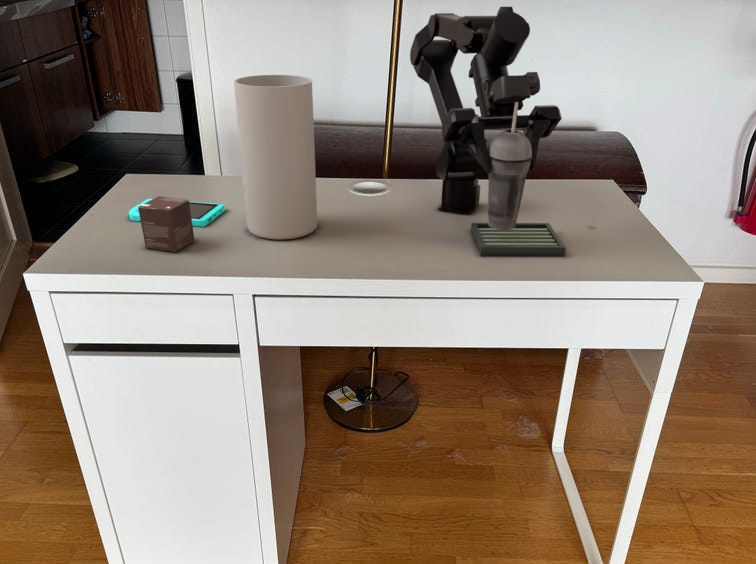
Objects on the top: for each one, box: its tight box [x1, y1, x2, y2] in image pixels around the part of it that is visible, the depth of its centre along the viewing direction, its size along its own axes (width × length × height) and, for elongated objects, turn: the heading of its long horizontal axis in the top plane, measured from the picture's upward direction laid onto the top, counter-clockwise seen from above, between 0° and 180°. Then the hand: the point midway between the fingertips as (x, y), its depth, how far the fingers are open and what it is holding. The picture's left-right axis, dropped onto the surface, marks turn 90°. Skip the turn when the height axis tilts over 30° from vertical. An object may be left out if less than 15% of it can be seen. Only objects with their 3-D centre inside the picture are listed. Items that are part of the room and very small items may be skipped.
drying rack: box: [470, 222, 567, 257], centre depth 118 cm, size 14×12×2 cm
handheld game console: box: [128, 198, 226, 228], centre depth 129 cm, size 10×16×1 cm, turn 78°
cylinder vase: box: [233, 74, 318, 241], centre depth 117 cm, size 12×12×25 cm
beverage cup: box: [487, 102, 532, 230], centre depth 110 cm, size 7×7×20 cm
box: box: [138, 195, 196, 253], centre depth 114 cm, size 6×6×7 cm
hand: (511, 170), depth 110 cm, fingers closed on beverage cup, 7 cm apart
